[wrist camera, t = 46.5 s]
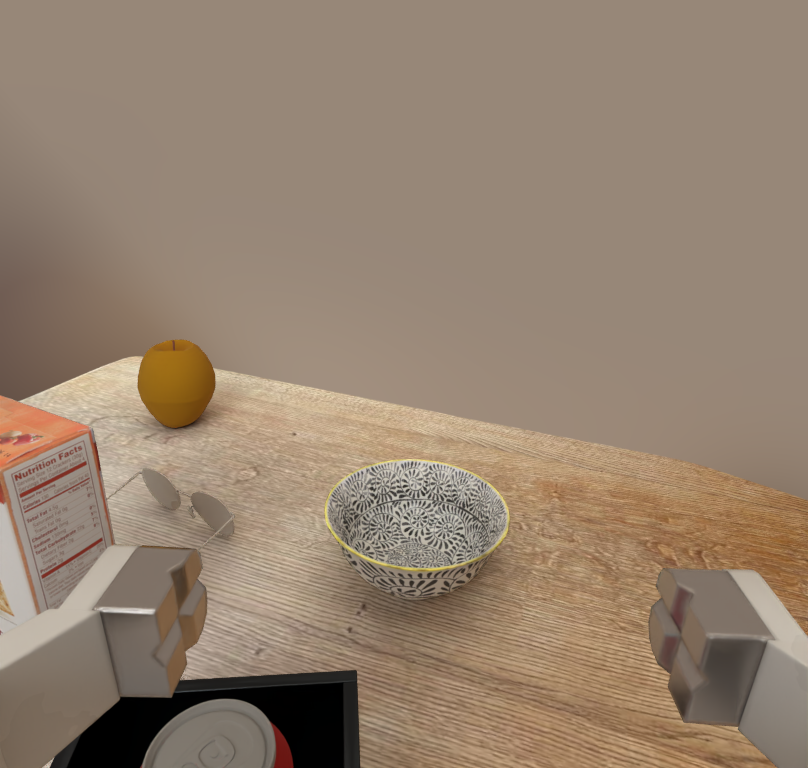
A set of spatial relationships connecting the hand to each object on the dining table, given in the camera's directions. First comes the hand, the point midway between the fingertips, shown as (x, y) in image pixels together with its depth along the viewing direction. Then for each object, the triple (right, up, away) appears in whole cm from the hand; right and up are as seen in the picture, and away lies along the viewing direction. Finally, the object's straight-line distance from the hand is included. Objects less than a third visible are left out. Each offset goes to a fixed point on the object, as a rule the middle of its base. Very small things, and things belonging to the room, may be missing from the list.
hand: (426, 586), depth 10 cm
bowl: (0, -14, +43) cm, 45 cm away
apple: (-31, -2, +70) cm, 76 cm away
